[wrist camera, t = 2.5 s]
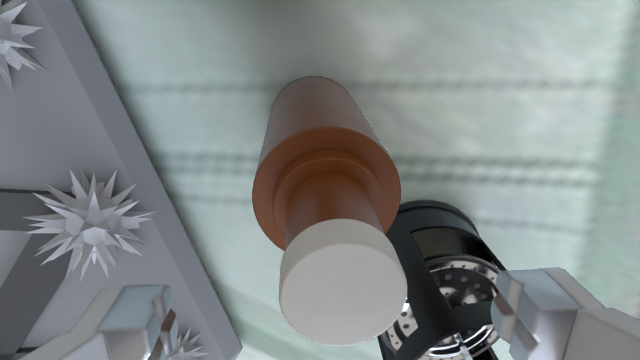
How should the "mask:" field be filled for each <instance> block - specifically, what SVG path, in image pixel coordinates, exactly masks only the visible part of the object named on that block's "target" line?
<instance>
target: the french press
mask: <svg viewBox="0 0 640 360" xmlns="http://www.w3.org/2000/svg"><path fill="white" fill-rule="evenodd" d="M432 228H450V229H454V230H455V231H456V232H457V233H458V234H459V236H460V238H461V240H462V242H463V247H464V254H457V253H447V254H438V255H433V256H429V257H426V258H423V256H422V254H421V253H420V251H419V249H418V247H417V245H416V243H415V241H414V239H413V237H412V235H411V233H414V232H417V231H421V230H425V229H432ZM385 236H386V237H387V238H388V239H389V241H390V242H391V244H392V245H393V247H394V249H395V252H396V254H397V256H398V259H399V261H400V264H401V266H402V268H403V271H404V273H405V277H406V280H407V298H406V302H405V305H404V308H403V310H402V312H401V314H400V316H399V317H398V319H397V320H396V321H395V322H394V323H393V325H392V326H391V327H389V328H388V329H387V330H386V331H385V332H383V333H382V334H380V335H379V336H377V337H378V341H379V345H380V349H381V353H382V357H383V360H499V359H498V358H497V356H496V354H495V353H494V351H493V349H492V347H491V346H492V345H493V344H494V343H495V342H496V341H497V340H498V339H499V338H500V337H499V335H498V333H497V332H496V330H495V328H494V325H493V323H492V317H491V305H492V299H493V298H494V297H495V296H496V295H497V294H498V293H499V290H498V289H497V287H496V286H495V283H496V278H497V275H498V274H499V272H500V271H507V270H506V269H505V267H504V266H503V265H502V264H501V262H500V261H499V260H498V259H497V258H496V256H495V255H494V254H493V253H492V251H491V250H490V249H489V248H488V247H487V245H486V244H485V243H484V242H483V240H482V239H481V238H480V237H479V234H478V232H477V230H476V228H475V226H474V224H473V223H472V222H471V221H470V220H469V218H468V217H467V216H466V215H465V214H463V213H462V212H461V211H459V210H458V209H456V208H454V207H452V206H450V205H448V204H445V203H440V202H436V201H415V202H409V203H406V204H402V205H399V208H398V212H397V215H396V217H395V219H394V221H393V223H392V225H391V227H390V228H389V230H388V231H387V232H386V234H385ZM495 265H496V266H497V267H498V268H497V267H496V266H495ZM394 353H395V354H394Z"/></svg>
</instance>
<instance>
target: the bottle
mask: <svg viewBox="0 0 640 360" xmlns="http://www.w3.org/2000/svg"><path fill="white" fill-rule="evenodd" d="M400 198H401V186H400V179H399V175H398V172H397V169H396V167H395V165H394V163H393V161H392V159H391V158H390V156H389V155H388V153H387V152H386V150H385V149H384V147H383V146H382V144H381V142H380V141H379V139H378V138H377V136H376V135H375V133H374V132H373V130H372V129H371V127H370V125H369V124H368V122H367V121H366V119H365V118H364V116H363V115H362V113H361V112H360V110H359V109H358V107H357V105H356V104H355V102H354V101H353V99H352V98H351V96H350V95H349V93H348V92H347V91H346V90H345V89H344V88H343V87H342V86H341V85H339V84H338V83H336V82H334V81H332V80H330V79H327V78H323V77H314V76H313V77H305V78H301V79H298V80H296V81H294V82H292V83H290V84H289V85H287V86H286V87H285V88H284V89H283V90H282V91H281V92H280V93H279V95H278V96H277V98H276V99H275V101H274V104H273V106H272V110H271V114H270V118H269V122H268V126H267V130H266V134H265V138H264V142H263V146H262V151H261V155H260V159H259V163H258V167H257V171H256V175H255V179H254V184H253V190H252V202H253V209H254V212H255V216H256V219H257V221H258V223H259V225H260V227H261V228H262V230H263V232H264V233H265V234H266V236H267V237H268V238H269V239H270V240H271V241H272V242H273V243H274V244H275V245H276V246H278V247H279V248H280V249H282V250H283V251H285V253H284V255H283V258H282V262H281V267H280V284H279V303H280V307H281V311H282V313H283V315H284V317H285V319H286V320H287V322H288V323H289V325H290V326H291V327H292V328H293V329H294V330H295V331H296V332H297V333H299V334H300V335H302V336H303V337H305V338H306V339H309V340H311V341H313V342H316V343H319V344H323V345H328V346H351V345H356V344H360V343H363V342H366V341H369V340H371V339H373V338H375V337H377V336H379V335H380V334H382V333H383V332H385V331H386V330H387V329H388V328H389V327H391V326H392V325H393V323H394V322H395V321H396V320H397V319H398V317H399V316H400V314H401V312H402V310H403V308H404V305H405V302H406V298H407V280H406V277H405V273H404V271H403V268H402V266H401V264H400V261H399V259H398V256H397V254H396V252H395V249H394V247H393V245H392V244H391V242H390V241H389V239H388V238H387V237H386V236H385V234H386V232H387V231H388V230H389V228H390V227H391V225H392V223H393V221H394V219H395V217H396V215H397V212H398V208H399V205H400Z"/></svg>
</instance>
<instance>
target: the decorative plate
mask: <svg viewBox="0 0 640 360" xmlns="http://www.w3.org/2000/svg"><path fill="white" fill-rule="evenodd" d="M161 284H169V285H170V286H171V287H172V292H173V297H174V300H173V302H172V305H171V307H170V308H171V309H172V310H173V311H174V312H175V313H176V314H177V321H178V335H177V342H176V346H175V349H174V353H173V355H171V356H170V357H169V358H168V359H167V360H235V359H236V357H237V356H238V354H239V353H240V351H241V350H242V347H243V346H242V344H241V342H240V340H239V338H238V336H237V334H236V332H235V330H234V328H233V326H232V324H231V322H230V320H229V318H228V316H227V314H226V312H225V310H224V308H223V306H222V304H221V302H220V299H219V297H218V295H217V293H216V291H215V289H214V287H213V285H212V283H211V281H210V279H209V277H208V275H207V273H206V271H205V269H204V267H203V265H202V263H201V261H200V259H199V257H198V255H197V253H196V251H195V249H194V247H193V245H192V243H191V241H190V239H189V237H188V235H187V233H186V231H185V229H184V227H183V224H182V222H181V220H180V218H179V216H178V214H177V212H176V210H175V208H174V206H173V204H172V202H171V200H170V198H169V196H168V194H167V192H166V190H165V188H164V186H163V184H162V182H161V180H160V178H159V176H158V174H157V172H156V170H155V168H154V166H153V164H152V162H151V160H150V158H149V156H148V154H147V151H146V149H145V147H144V145H143V143H142V141H141V139H140V137H139V135H138V133H137V131H136V129H135V127H134V125H133V123H132V121H131V119H130V117H129V115H128V113H127V111H126V109H125V107H124V105H123V103H122V101H121V99H120V97H119V95H118V93H117V91H116V89H115V87H114V85H113V83H112V81H111V79H110V76H109V74H108V72H107V70H106V68H105V66H104V64H103V62H102V60H101V58H100V56H99V54H98V52H97V50H96V48H95V46H94V44H93V42H92V40H91V38H90V36H89V34H88V32H87V30H86V28H85V26H84V24H83V22H82V20H81V18H80V16H79V14H78V12H77V10H76V8H75V6H74V3H73V1H72V0H0V360H19V359H20V358H22V357H24V356H25V355H27V354H29V353H31V352H32V351H34V350H36V349H37V348H39V347H41V346H42V345H44V344H46V343H47V342H49V341H51V340H52V339H54V338H56V337H57V336H59V335H61V334H64V333H70V331H71V330H72V328H73V327H74V326H75V324H76V323H77V321H78V320H79V319H80V317H81V316H82V314H83V313H84V312H85V310H86V309H87V307H88V306H89V305H90V303H91V302H92V300H93V299H94V297H95V296H96V295H97V293H98V292H99V290H100V289H101V288H103V287H105V286H118V285H125V286H127V285H161Z"/></svg>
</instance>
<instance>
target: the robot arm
mask: <svg viewBox="0 0 640 360" xmlns="http://www.w3.org/2000/svg"><path fill="white" fill-rule="evenodd" d="M495 286H496V287H497V289H498V290H499V293H498V294H497V295H496V296H495V297H494V298H493V299H492V305H491V317H492V323H493V325H494V328H495V330H496V332H497V333H498V335H499V337H500V338H501V339H503V340H505V341H506V342H508V343H509V344H511V345H510V350H509V352H510V354H511V355H512V357H513V358H514V360H640V320H639V319H637V318H635V317H632V316H630V315H628V314H626V313H623V312H621V311H619V310H616V309H614V308H606V307H604V306H603V305H602V304H601V303H600V302H599V301H598V300H597V299H596V298H595V297H594V296H593V295H591V294H590V293H589V292H588V291H587V290H586V289H585V288H584V287H583V286H582V285H581V284H580V283H579V282H577V281H576V280H575V279H574V278H573V277H572V276H571V275H570V274H569V273H568V272H567V271H566V270H564V269H562V268H559V267H554V268H540V269H532V270H513V271H500V272H499V274H498V275H497V278H496V283H495ZM173 300H174V297H173V292H172V287H171V286H170V285H169V284H161V285H127V286H125V285H118V286H105V287H103V288H101V289H100V290H99V292H98V293H97V295H96V296H95V297H94V299H93V300H92V302H91V303H90V305H89V306H88V307H87V309H86V310H85V312H84V313H83V314H82V316H81V317H80V319H79V320H78V321H77V323H76V324H75V326H74V327H73V328H72V330H71V331H70V333H64V334H61V335H59V336H57V337H56V338H54V339H52V340H51V341H49V342H47V343H46V344H44V345H42V346H41V347H39V348H37V349H36V350H34V351H32V352H31V353H29V354H27V355H25V356H24V357H22V358H20V359H19V360H167V359H168V358H169V357H170V356H171V355H173V353H174V349H175V346H176V342H177V335H178V321H177V314H176V313H175V312H174V311H173V310H172V309H171V308H170V307H171V305H172V302H173Z"/></svg>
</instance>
